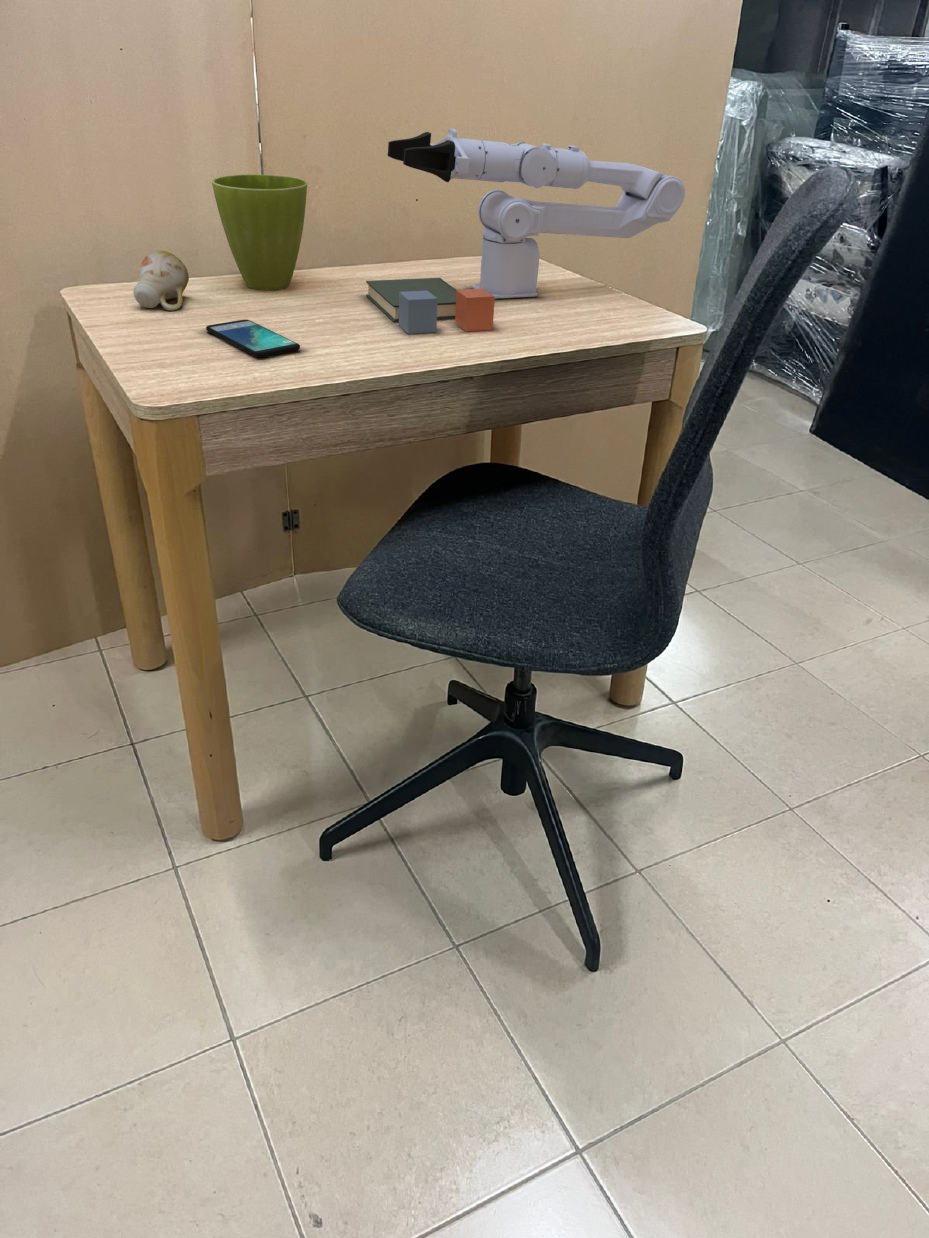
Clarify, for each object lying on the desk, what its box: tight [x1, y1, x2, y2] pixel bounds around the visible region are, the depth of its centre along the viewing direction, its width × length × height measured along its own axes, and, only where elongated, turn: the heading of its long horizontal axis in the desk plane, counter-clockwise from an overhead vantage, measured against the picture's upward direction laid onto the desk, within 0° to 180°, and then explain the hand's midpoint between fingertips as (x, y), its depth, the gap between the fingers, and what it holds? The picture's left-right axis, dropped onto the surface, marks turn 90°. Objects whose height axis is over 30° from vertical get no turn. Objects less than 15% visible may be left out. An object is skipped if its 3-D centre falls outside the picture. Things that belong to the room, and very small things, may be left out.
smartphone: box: [205, 319, 301, 358], centre depth 127 cm, size 7×1×15 cm
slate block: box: [398, 291, 438, 335], centre depth 135 cm, size 4×4×5 cm
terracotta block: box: [454, 288, 496, 332], centre depth 138 cm, size 4×4×5 cm
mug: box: [132, 250, 190, 311], centre depth 140 cm, size 8×10×10 cm
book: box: [365, 277, 457, 323], centre depth 146 cm, size 13×15×2 cm
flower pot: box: [211, 173, 308, 291], centre depth 149 cm, size 15×15×16 cm
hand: (396, 153), depth 138 cm, fingers open, 7 cm apart
